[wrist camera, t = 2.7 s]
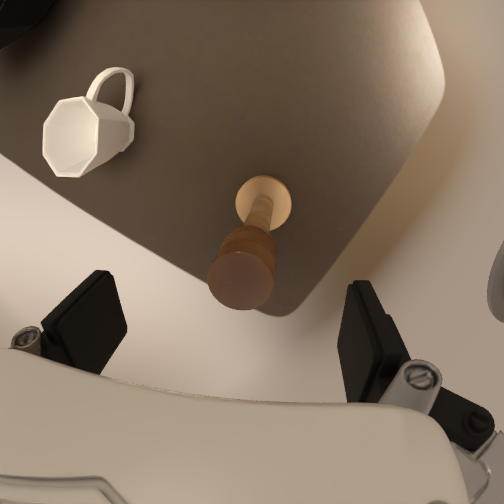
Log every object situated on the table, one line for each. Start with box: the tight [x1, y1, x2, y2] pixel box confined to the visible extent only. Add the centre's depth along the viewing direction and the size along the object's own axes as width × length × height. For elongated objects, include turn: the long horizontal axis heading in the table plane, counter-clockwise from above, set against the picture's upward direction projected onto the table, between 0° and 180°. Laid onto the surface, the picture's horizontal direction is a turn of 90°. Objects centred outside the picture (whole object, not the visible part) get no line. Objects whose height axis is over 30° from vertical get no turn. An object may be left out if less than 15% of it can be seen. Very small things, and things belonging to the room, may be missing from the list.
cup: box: [43, 67, 135, 177], centre depth 21 cm, size 7×10×8 cm
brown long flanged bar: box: [207, 175, 291, 310], centre depth 20 cm, size 5×5×15 cm
